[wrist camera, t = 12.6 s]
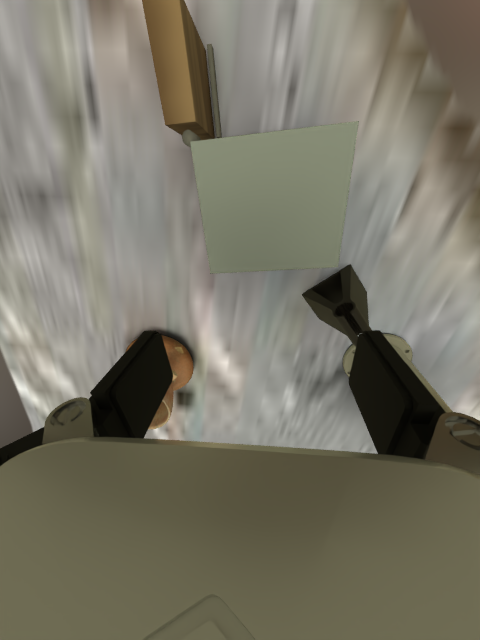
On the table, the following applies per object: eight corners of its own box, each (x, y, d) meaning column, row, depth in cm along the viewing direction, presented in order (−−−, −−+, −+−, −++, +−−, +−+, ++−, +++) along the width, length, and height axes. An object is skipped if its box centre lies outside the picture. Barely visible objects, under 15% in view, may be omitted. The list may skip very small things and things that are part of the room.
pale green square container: (314, 241, 35) (337, 267, 24) (202, 248, 37) (177, 275, 26) (331, 28, 24) (391, -106, 13) (171, 55, 26) (103, -40, 15)
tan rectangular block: (205, 51, 26) (177, -16, 17) (214, 139, 30) (195, 121, 21) (173, 56, 26) (130, -7, 18) (187, 142, 30) (157, 126, 22)
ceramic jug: (164, 312, 45) (128, 360, 32) (214, 358, 50) (198, 414, 37) (114, 353, 51) (69, 405, 39) (162, 390, 57) (134, 446, 44)
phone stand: (350, 264, 37) (384, 294, 26) (365, 291, 39) (402, 329, 28) (301, 294, 40) (314, 331, 30) (318, 317, 42) (336, 360, 32)
